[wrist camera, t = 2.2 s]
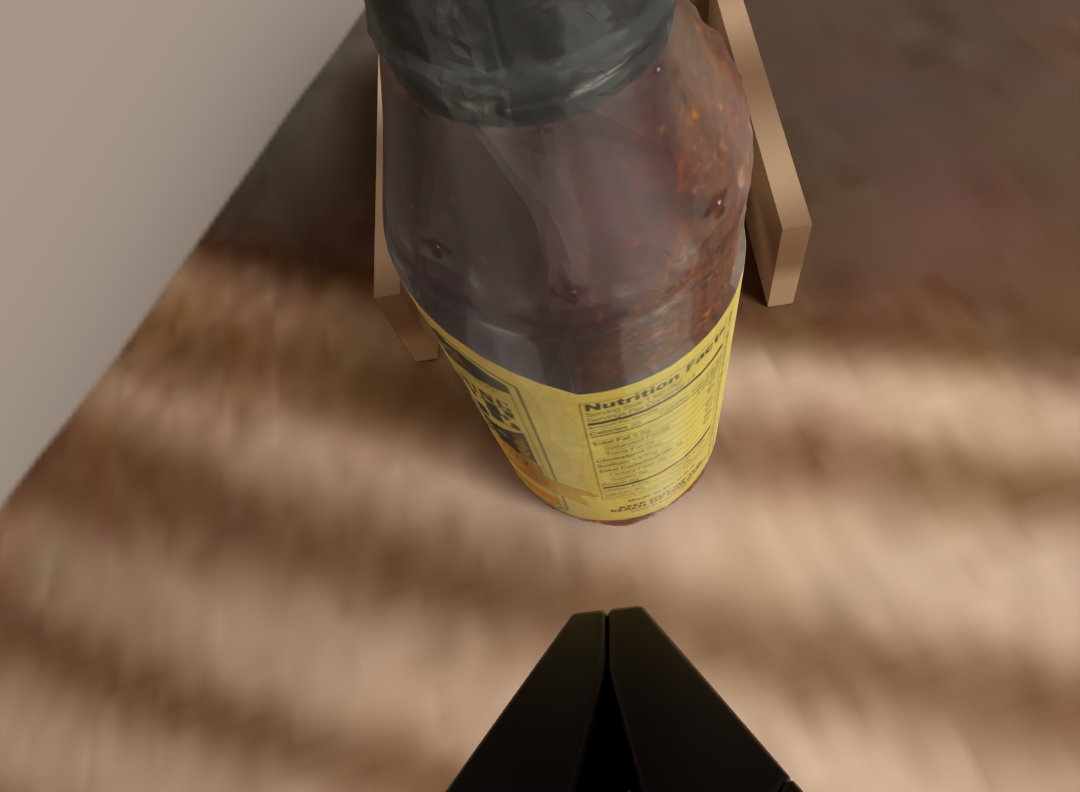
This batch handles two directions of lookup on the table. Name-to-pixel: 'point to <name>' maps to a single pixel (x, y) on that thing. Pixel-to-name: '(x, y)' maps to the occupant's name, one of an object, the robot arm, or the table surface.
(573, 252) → the sauce bottle
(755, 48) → the crate
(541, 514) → the table surface
